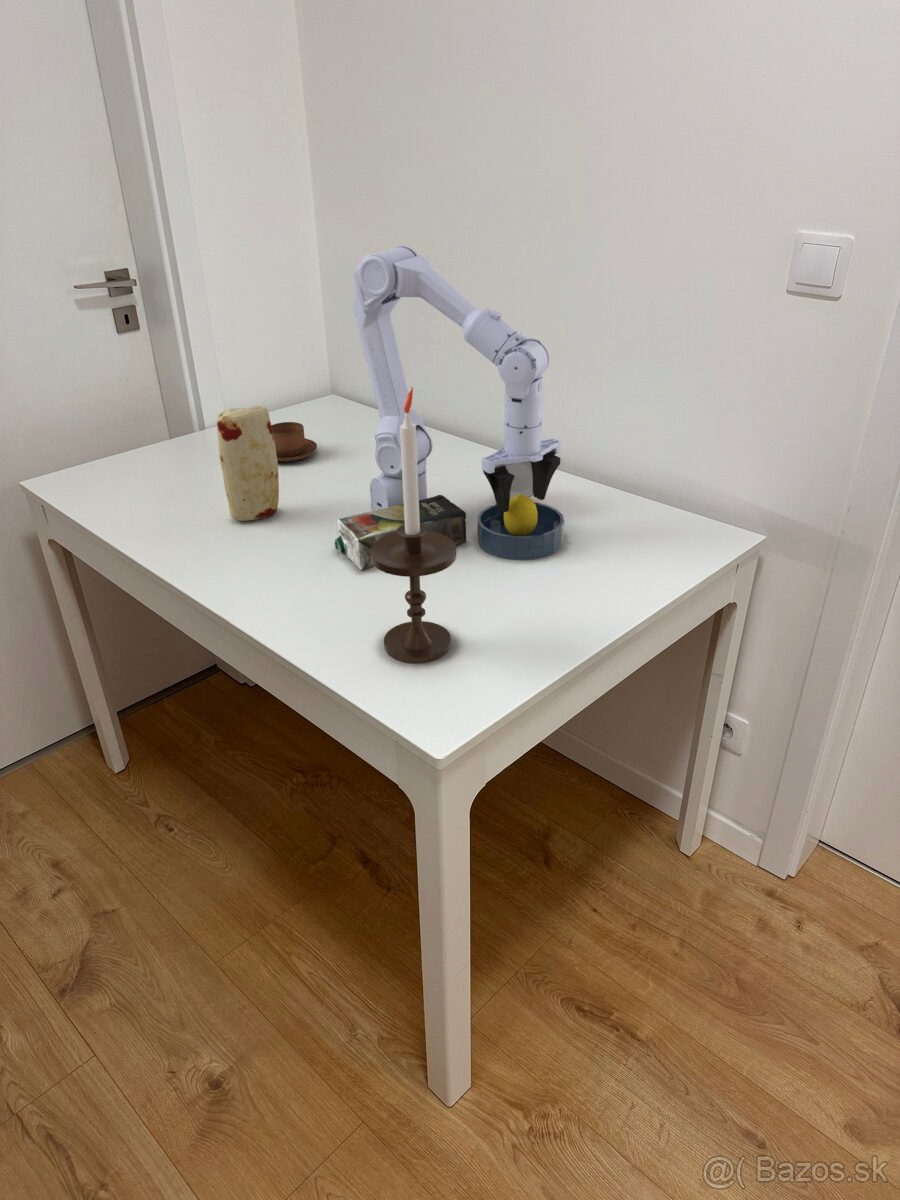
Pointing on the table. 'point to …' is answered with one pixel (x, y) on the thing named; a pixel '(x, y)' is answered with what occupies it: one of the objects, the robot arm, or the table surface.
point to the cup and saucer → (291, 442)
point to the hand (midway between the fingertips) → (521, 503)
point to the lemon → (521, 516)
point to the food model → (248, 462)
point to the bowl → (528, 547)
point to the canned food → (521, 479)
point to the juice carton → (374, 525)
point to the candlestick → (413, 563)
